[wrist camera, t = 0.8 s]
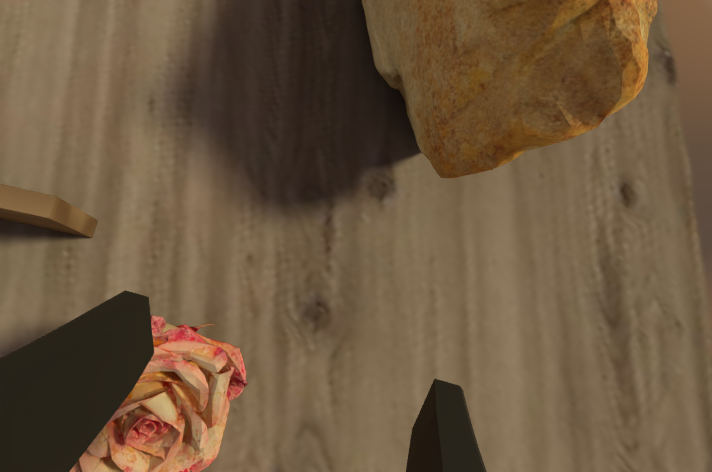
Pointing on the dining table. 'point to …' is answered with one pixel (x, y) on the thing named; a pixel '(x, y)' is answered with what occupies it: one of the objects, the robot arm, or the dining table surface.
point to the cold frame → (44, 211)
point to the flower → (171, 407)
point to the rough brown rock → (507, 71)
